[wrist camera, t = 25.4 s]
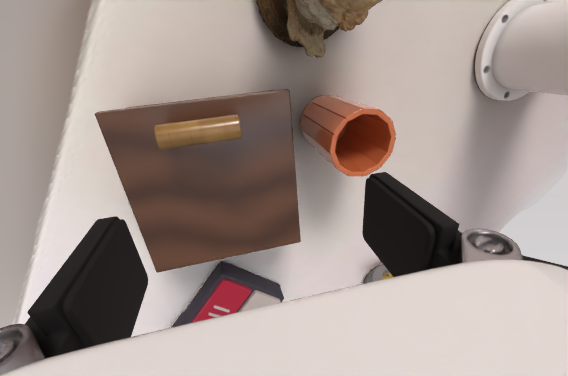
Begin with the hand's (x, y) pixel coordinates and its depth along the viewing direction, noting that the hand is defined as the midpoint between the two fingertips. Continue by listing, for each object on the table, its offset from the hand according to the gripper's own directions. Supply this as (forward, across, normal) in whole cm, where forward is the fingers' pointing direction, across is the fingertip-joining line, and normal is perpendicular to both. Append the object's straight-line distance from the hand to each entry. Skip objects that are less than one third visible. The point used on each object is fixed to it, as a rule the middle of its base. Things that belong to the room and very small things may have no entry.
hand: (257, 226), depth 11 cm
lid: (+16, +3, +5) cm, 17 cm away
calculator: (+23, +6, +29) cm, 38 cm away
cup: (+23, -11, +2) cm, 26 cm away
